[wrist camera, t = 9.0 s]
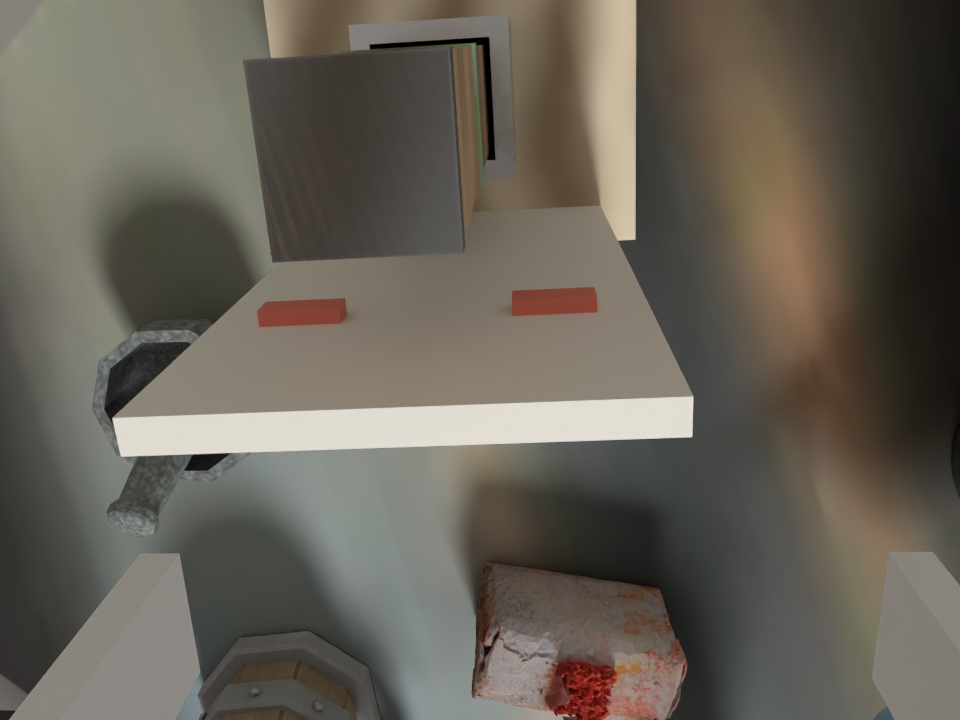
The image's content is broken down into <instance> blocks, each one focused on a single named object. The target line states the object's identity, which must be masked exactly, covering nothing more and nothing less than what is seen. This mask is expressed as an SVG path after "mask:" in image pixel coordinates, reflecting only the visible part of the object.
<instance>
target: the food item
mask: <svg viewBox="0 0 960 720" xmlns="http://www.w3.org/2000/svg"><path fill="white" fill-rule="evenodd" d="M477 608H478V610H477V619H476V648H475V654H476V658H475V668H474V670H473V680H472V697H473V698H479V699H486V700H492V701H498V702H503V703H505V704H510V705H514V706H521V707H528V708H533V709H538V710H544V711H552V712H554V713H555V715H556V716H557V714H559V715H561V714H568V715H569V716H570V717H571V718H570V717H564V716H562V717H563V719H564V720H666V719H667V718H671V715H672V712H673V711H674V710H675V709H676V707H677V705H678V703H679V700H680V693H681V685H682V682H683V680H684V678H685V676H686V672H687V661H686V657H685V654H684V652H683V650H682V648H681V646H680V643H679V640H678V639H676V638H675V635H674V632H673V630H672V627H671V625H670V622H669V614H667V611H666V607H665V604H664V600H663V597H662V594H661V591H660V589H658V588H655V587H648V586H641V585H635V584H628V583H623V582H618V581H608V580H600V579H595V578H590V577H585V576H577V575H570V574H565V573H559V572H552V571H546V570H541V569H535V568H526V567H519V566H510V565H505V564H500V563H487V561H486V565H485V567H484V571H483V573H482V574H481V587H480V596H479V601H478V606H477ZM572 715H575V717H572Z"/></svg>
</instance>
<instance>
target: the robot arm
mask: <svg viewBox="0 0 960 720" xmlns="http://www.w3.org/2000/svg"><path fill="white" fill-rule="evenodd" d="M952 469H953V477H954V482H955V486H956V489H957V492H958V495H959V497H960V426H959V429H958V432H957V435H956V438H955V442H954V448H953V456H952ZM200 673H201V672H200V666H199V661H198V655H197V650H196V644H195V638H194V633H193V627H192V621H191V616H190V610H189V605H188V599H187V593H186V588H185V582H184V576H183V571H182V565H181V560H180V554H179V553H140V555H139V556H138V557H137V558H136V560H135V561H134V562H133V563H132V565H131V566H130V567H129V569H128V570H127V571H126V572H125V574H124V575H123V576H122V577H121V579H120V580H119V581H118V582H117V584H116V585H115V586H114V588H113V589H112V590H111V591H110V593H109V594H108V595H107V596H106V598H105V599H104V600H103V601H102V603H101V604H100V605H99V606H98V608H97V609H96V610H95V612H94V613H93V614H92V615H91V617H90V618H89V619H88V620H87V622H86V623H85V624H84V625H83V627H82V628H81V629H80V631H79V632H78V633H77V634H76V636H75V637H74V638H73V639H72V641H71V642H70V643H69V644H68V646H67V647H66V648H65V649H64V651H63V652H62V653H61V655H60V656H59V657H58V658H57V660H56V661H55V662H54V663H53V665H52V666H51V667H50V668H49V670H48V671H47V672H46V673H45V675H44V676H43V677H42V679H41V680H40V681H39V682H38V684H37V685H36V686H35V687H34V689H33V690H32V691H31V692H30V694H29V695H28V696H27V698H26V699H25V700H24V701H23V703H22V704H21V705H20V706H19V708H18V709H17V710H16V711H1V710H0V720H175V719H176V717H177V715H178V713H179V711H180V710H181V708H182V706H183V704H184V702H185V700H186V698H187V697H188V695H189V693H190V691H191V689H192V687H193V686H194V684H195V682H196V680H197V678H198V676H199V674H200ZM872 679H873V681H874V683H875V685H876V686H877V688H878V690H879V692H880V694H881V696H882V697H883V699H884V701H885V703H886V705H887V707H886V708H884V709H883V710H882V711H881V712H880V713H878V714H877V716H876V717H875V718H874V720H960V585H959V584H958V583H957V582H956V580H955V579H954V578H953V577H952V575H951V574H950V573H949V572H948V570H947V569H946V568H945V567H944V565H943V564H942V563H941V562H940V560H939V559H938V558H937V557H936V555H935V554H934V553H933V552H889V553H888V561H887V568H886V575H885V583H884V590H883V598H882V605H881V613H880V620H879V628H878V635H877V643H876V650H875V658H874V665H873V673H872Z"/></svg>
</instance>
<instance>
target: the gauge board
mask: <svg viewBox="0 0 960 720" xmlns="http://www.w3.org/2000/svg"><path fill="white" fill-rule="evenodd" d="M112 419H113V424H114V428H115V433H116V437H117V442H118V446H119V451H120V455H121V457H128V456H157V455H186V454H215V453H244V452H273V451H303V450H332V449H361V448H390V447H419V446H448V445H477V444H507V443H536V442H565V441H594V440H623V439H652V438H681V437H692V429H693V395H692V392H691V390H690V388H689V386H688V384H687V382H686V380H685V378H684V376H683V374H682V372H681V370H680V368H679V366H678V364H677V362H676V360H675V358H674V355H673V353H672V351H671V349H670V347H669V345H668V343H667V341H666V339H665V337H664V335H663V333H662V331H661V329H660V327H659V325H658V323H657V321H656V318H655V316H654V314H653V312H652V310H651V308H650V306H649V304H648V302H647V300H646V298H645V296H644V294H643V292H642V290H641V288H640V286H639V284H638V281H637V279H636V277H635V275H634V273H633V271H632V269H631V267H630V265H629V263H628V261H627V259H626V257H625V255H624V253H623V251H622V249H621V247H620V244H619V242H618V240H617V238H616V236H615V234H614V232H613V230H612V228H611V226H610V224H609V222H608V220H607V218H606V216H605V214H604V212H603V209H602V207H601V205H597V206H577V207H558V208H538V209H518V210H499V211H479V212H472V214H471V217H470V221H469V225H468V228H467V232H466V235H465V249H464V253H461V254H440V255H419V256H398V257H377V258H357V259H336V260H315V261H294V262H280V263H279V264H278V265H277V266H276V267H274V268H273V269H272V270H271V271H270V272H269V273H268V274H267V275H266V276H265V277H264V278H263V279H262V280H260V281H259V282H258V283H257V284H256V285H255V286H254V287H253V288H252V289H251V290H250V291H249V292H248V293H246V294H245V295H244V296H243V297H242V298H241V299H240V300H239V301H238V302H237V303H236V304H235V305H233V306H232V307H231V308H230V309H229V310H228V311H227V312H226V313H225V314H224V315H223V316H222V317H221V318H219V319H218V320H217V321H216V322H215V323H214V324H213V325H212V326H211V327H210V328H209V329H208V330H207V331H205V332H204V333H203V334H202V335H201V336H200V337H199V338H198V339H197V340H196V341H195V342H194V343H193V344H191V345H190V346H189V347H188V348H187V349H186V350H185V351H184V352H183V353H182V354H181V355H180V356H179V357H177V358H176V359H175V360H174V361H173V362H172V363H171V364H170V365H169V366H168V367H167V368H166V369H165V370H163V371H162V372H161V373H160V374H159V375H158V376H157V377H156V378H155V379H154V380H153V381H152V382H150V383H149V384H148V385H147V386H146V387H145V388H144V389H143V390H142V391H141V392H140V393H139V394H138V395H136V396H135V397H134V398H133V399H132V400H131V401H130V402H129V403H128V404H127V405H126V406H125V407H124V408H122V409H121V410H120V411H119V412H118V413H117V414H116V415H115V416H114V417H113V418H112Z"/></svg>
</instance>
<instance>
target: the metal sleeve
mask: <svg viewBox="0 0 960 720" xmlns="http://www.w3.org/2000/svg"><path fill="white" fill-rule="evenodd" d="M348 27H349V37H350V47H351V51H354V50H370V49H386V48H402V47H405V43H417V42H433V41H449V40H465V39H481V38H489V41H490V60H491V79H492V99H493V118H494V133H492V142H491V146H490V149H489V153H488V156H487V160H486V164H485V167H484V179H500V178H515V163H516V132H515V109H514V85H513V62H512V39H511V20H510V18H509V16H508V15H495V16H480V17H464V18H449V19H433V20H418V21H402V22H387V23H371V24H356V25H348Z"/></svg>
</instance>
